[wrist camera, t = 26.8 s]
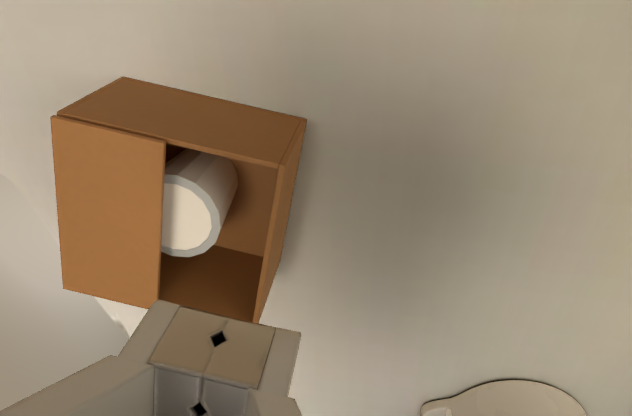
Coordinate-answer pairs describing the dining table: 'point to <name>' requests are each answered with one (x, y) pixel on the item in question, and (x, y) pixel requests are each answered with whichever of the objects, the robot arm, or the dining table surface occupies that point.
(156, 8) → the dining table surface
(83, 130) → the flap
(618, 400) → the dining table surface
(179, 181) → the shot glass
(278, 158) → the carton
